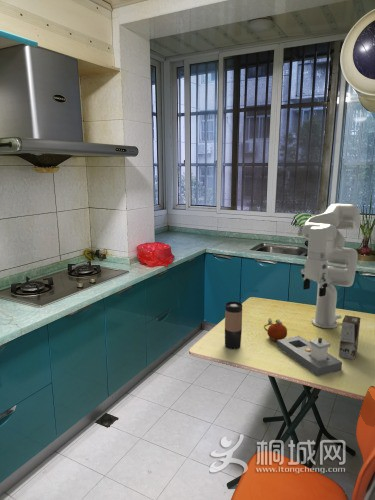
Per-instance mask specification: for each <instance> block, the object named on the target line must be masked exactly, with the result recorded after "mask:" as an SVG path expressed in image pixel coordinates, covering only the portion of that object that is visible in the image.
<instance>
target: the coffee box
mask: <svg viewBox="0 0 375 500" xmlns="http://www.w3.org/2000/svg"><path fill="white" fill-rule="evenodd" d="M360 327H361V317H359V316H353V315H347V314H345V315H344V318H343V320H342V324H341V330H340V341H339V351H338V356H339V357H342V358H346V359H350V360H353V359H354V360H355V359H356V358H355V357H356V354H357V353H356V352H358V344H359V336H360Z"/></svg>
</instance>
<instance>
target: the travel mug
mask: <svg viewBox="0 0 375 500" xmlns="http://www.w3.org/2000/svg"><path fill="white" fill-rule="evenodd" d="M224 311H225V313H224V315H225V316H224V346H225V348H226V349H229V350H239V349H240V348H241V347H242V346H241V343H242V334H243V333H242V330H243V329H242V328H243V304H242V303H241V302H238V301H228V302H226V303H225V309H224Z"/></svg>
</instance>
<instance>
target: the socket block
mask: <svg viewBox="0 0 375 500" xmlns="http://www.w3.org/2000/svg"><path fill="white" fill-rule="evenodd" d="M276 342H277V345H276V346H277V348H278V349H279V350H280V351H281V352H283V353H285V355H288V356H289V357H290V358H291V359H294V360H295V361H296V362H298V363H299V365H301V366H302V367H305V368H306V369H308V370H309V371H310V372H311V373H313V374H314V375H316V376H317V377H320V376H325V375H328V374H331V372H332V373H335V371H336V372H338V371H342V368H343V367H342V366H343V361H341V360H340V359H338V358H337V357H335V356H333V355H331V354H330V353H329V352H327V360H325V361H321V362H317V361H316V360H314V359H313V358H311V344H310V343H309V342H310V340H307V339H305V338H304V337H302V336H301V335H296V336H290V337H285V338H284V339H280V340H278V341H276Z"/></svg>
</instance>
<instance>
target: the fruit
mask: <svg viewBox="0 0 375 500" xmlns="http://www.w3.org/2000/svg"><path fill="white" fill-rule="evenodd" d="M283 325H284V324H283ZM283 325H281V324H279V323H276V322H275V323H271V324H270V325H268V326H269V327H268V328H267V330H268V331H266V332H267V336H268V337H269V338H271V340H274V341H276V342H278V340H280V339H285V338H287V336H288V329H287V330H286V328H287V327H286V326H285V325H284V326H285V327H286V328H285V327H284V326H283Z"/></svg>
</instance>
